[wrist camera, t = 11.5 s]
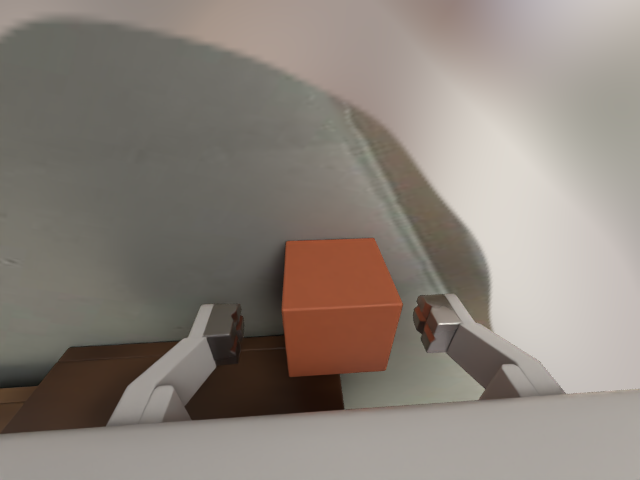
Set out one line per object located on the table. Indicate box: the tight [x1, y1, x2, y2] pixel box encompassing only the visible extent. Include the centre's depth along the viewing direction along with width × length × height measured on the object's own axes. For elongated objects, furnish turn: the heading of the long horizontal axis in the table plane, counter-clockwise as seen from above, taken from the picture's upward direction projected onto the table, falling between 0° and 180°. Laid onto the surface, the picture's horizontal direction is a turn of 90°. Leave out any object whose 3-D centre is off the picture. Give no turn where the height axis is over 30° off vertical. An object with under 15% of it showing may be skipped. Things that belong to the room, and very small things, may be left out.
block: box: [282, 238, 403, 377], centre depth 11 cm, size 4×4×4 cm
